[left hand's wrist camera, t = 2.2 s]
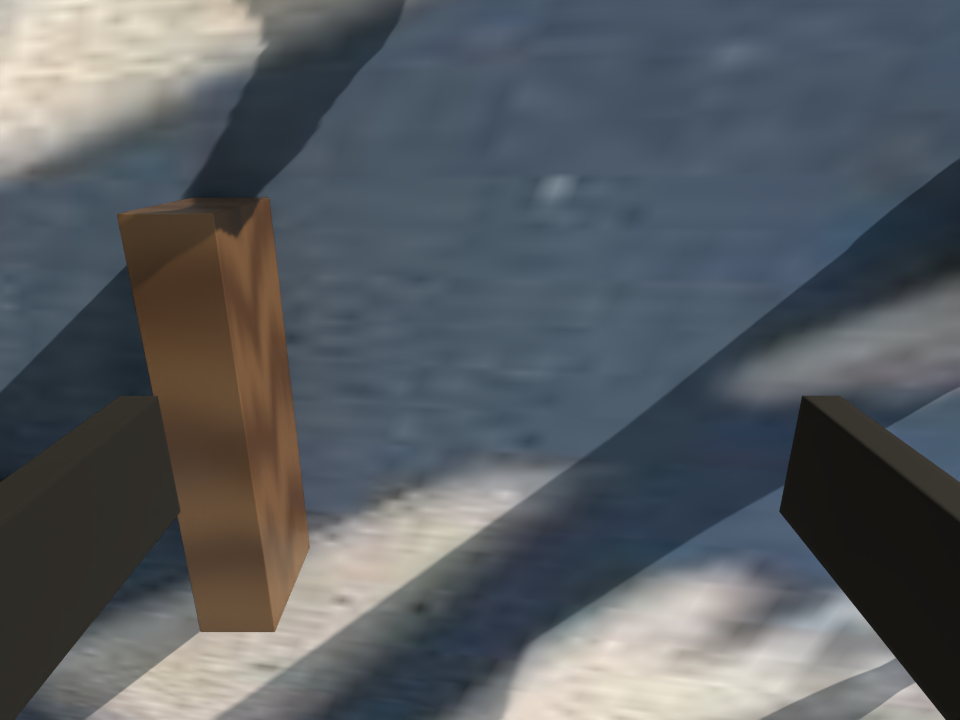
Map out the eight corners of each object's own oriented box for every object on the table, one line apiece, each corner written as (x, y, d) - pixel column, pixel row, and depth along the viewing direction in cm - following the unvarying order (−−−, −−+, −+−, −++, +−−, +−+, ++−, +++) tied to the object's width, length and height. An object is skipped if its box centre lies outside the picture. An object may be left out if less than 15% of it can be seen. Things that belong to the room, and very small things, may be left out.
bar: (192, 197, 40) (116, 213, 31) (269, 197, 40) (213, 213, 31) (247, 547, 49) (200, 632, 41) (309, 547, 49) (274, 632, 41)
